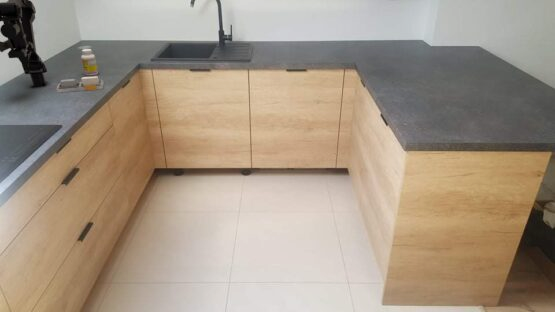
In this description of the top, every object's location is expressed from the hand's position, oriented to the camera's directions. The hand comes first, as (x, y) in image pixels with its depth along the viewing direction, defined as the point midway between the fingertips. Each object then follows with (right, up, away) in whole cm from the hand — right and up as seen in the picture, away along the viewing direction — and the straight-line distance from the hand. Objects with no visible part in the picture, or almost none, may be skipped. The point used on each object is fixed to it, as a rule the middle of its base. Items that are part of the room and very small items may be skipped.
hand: (26, 68), depth 182 cm
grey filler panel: (+13, -7, +12) cm, 20 cm away
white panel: (+23, -6, +15) cm, 28 cm away
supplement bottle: (+14, +4, +34) cm, 37 cm away
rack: (+18, -6, +14) cm, 24 cm away
